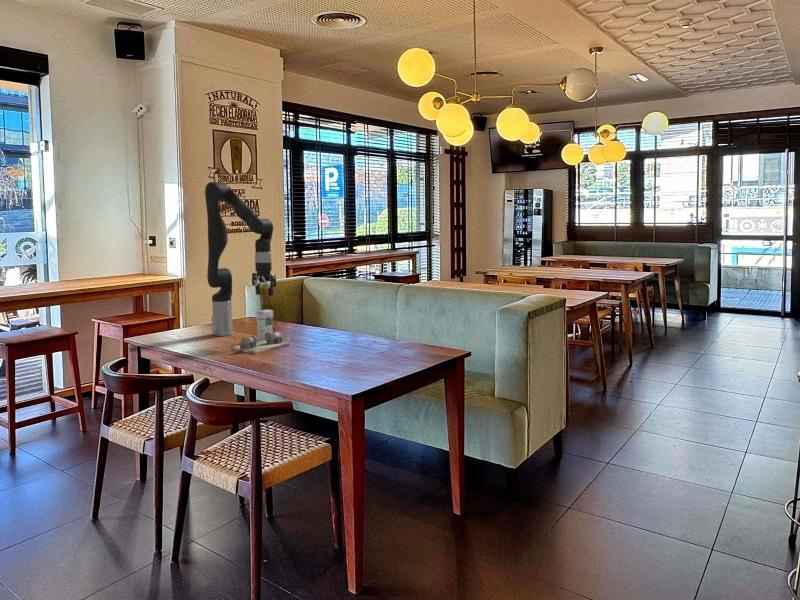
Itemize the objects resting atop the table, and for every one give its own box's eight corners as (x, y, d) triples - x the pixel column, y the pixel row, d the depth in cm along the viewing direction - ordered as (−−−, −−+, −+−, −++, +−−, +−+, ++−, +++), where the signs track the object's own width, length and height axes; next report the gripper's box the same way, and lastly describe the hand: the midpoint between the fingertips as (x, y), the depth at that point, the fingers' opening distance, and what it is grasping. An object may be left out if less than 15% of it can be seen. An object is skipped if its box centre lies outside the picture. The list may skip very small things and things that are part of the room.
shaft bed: (231, 349, 281) (231, 335, 280) (266, 341, 297) (266, 328, 296) (255, 354, 271) (255, 340, 271) (290, 345, 288) (290, 332, 287)
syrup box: (265, 341, 297) (264, 311, 295) (257, 340, 300) (256, 310, 298) (274, 339, 301) (273, 310, 299) (266, 338, 305) (265, 308, 303)
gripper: (247, 261, 297) (248, 294, 299) (267, 262, 288) (268, 297, 291) (259, 260, 303) (260, 293, 305) (279, 261, 294) (280, 295, 297)
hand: (264, 295), depth 298 cm, fingers open, 8 cm apart
